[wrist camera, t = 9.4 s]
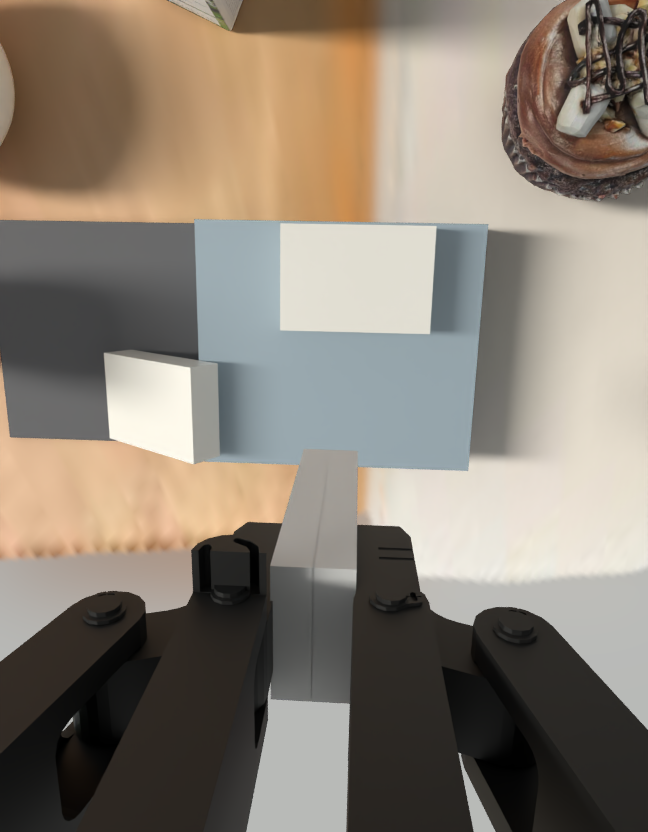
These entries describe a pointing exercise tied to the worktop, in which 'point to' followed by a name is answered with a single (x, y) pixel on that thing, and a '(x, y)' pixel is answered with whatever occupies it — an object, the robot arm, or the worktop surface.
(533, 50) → the cupcake
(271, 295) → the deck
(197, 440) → the rear tile
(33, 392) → the mat
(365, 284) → the front tile
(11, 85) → the lidded jar
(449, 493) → the worktop surface
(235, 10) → the syrup box
